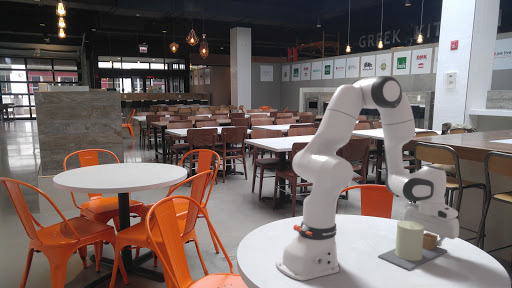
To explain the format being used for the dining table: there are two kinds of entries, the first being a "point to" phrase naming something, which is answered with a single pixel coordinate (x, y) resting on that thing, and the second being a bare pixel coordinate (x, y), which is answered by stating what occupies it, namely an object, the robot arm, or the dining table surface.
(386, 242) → the dining table surface
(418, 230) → the can
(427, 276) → the dining table surface
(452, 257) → the dining table surface
